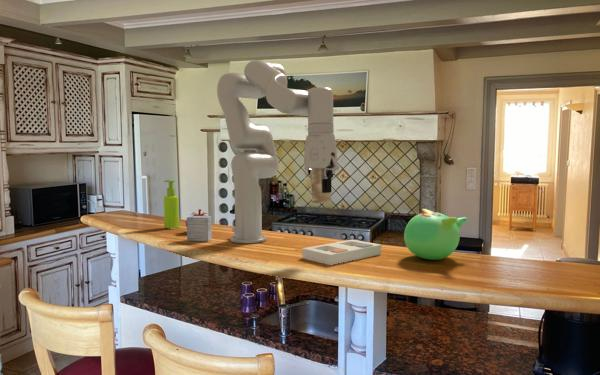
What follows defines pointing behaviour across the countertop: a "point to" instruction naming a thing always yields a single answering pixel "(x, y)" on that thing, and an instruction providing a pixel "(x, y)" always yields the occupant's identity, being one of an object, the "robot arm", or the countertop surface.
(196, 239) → the grey gift box
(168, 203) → the soap dispenser
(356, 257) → the socket block
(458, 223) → the toy bird
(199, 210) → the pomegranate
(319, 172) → the maple peg
